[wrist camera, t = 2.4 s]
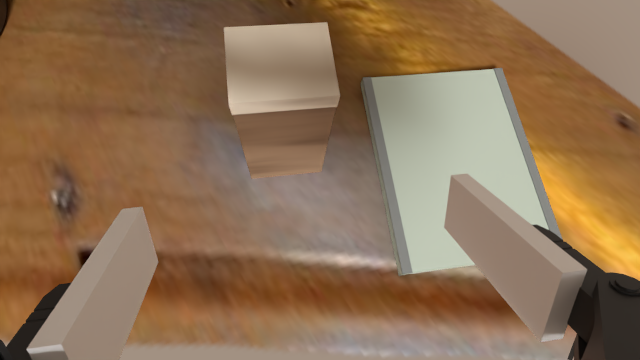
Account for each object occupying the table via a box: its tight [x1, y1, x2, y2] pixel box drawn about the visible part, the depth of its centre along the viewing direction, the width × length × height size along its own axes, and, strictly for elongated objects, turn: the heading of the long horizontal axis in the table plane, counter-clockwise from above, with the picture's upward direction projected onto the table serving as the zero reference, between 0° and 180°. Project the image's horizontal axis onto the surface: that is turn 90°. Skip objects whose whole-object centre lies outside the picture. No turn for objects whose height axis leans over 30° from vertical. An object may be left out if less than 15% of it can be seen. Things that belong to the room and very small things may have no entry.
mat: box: [361, 68, 562, 275], centre depth 32 cm, size 18×14×1 cm
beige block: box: [224, 22, 340, 179], centre depth 26 cm, size 5×6×12 cm
